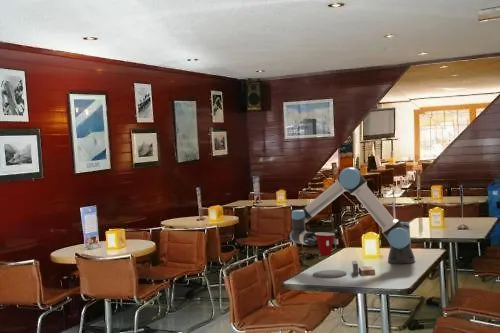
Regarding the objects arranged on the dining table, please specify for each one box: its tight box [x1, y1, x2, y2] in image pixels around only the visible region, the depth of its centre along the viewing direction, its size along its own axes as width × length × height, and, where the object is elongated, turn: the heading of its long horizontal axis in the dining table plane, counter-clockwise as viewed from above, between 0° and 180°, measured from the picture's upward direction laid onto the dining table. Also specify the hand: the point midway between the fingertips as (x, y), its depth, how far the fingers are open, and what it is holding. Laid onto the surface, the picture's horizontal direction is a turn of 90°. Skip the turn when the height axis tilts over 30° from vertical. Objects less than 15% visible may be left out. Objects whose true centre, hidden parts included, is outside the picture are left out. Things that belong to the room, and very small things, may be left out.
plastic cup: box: [314, 231, 336, 257], centre depth 303 cm, size 11×11×12 cm
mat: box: [312, 269, 347, 279], centre depth 304 cm, size 18×18×1 cm
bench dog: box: [351, 260, 359, 276], centre depth 302 cm, size 2×8×6 cm, turn 173°
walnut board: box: [358, 265, 376, 276], centre depth 302 cm, size 7×10×3 cm
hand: (332, 242), depth 299 cm, fingers closed on plastic cup, 5 cm apart
